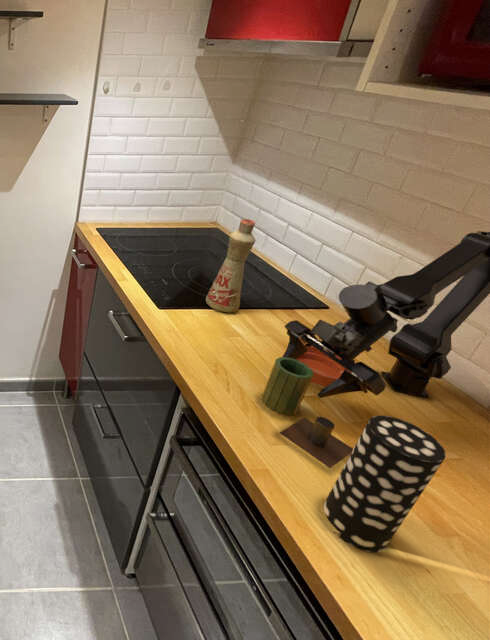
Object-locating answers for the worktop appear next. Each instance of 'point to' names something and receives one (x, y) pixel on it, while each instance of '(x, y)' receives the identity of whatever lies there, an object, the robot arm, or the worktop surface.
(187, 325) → the worktop surface
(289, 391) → the green tube
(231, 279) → the bottle
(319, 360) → the dish
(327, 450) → the post stand
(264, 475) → the worktop surface
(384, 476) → the spotted tube
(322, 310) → the worktop surface
